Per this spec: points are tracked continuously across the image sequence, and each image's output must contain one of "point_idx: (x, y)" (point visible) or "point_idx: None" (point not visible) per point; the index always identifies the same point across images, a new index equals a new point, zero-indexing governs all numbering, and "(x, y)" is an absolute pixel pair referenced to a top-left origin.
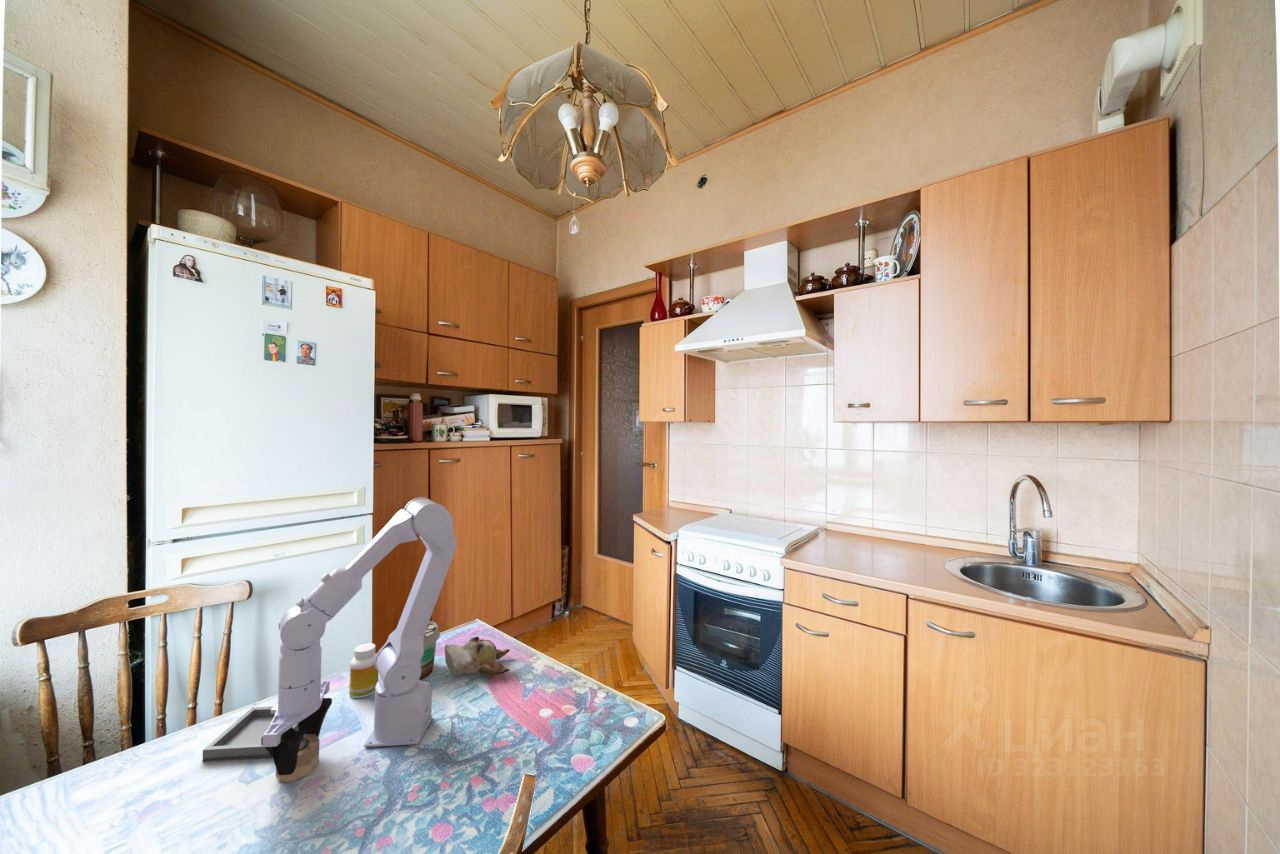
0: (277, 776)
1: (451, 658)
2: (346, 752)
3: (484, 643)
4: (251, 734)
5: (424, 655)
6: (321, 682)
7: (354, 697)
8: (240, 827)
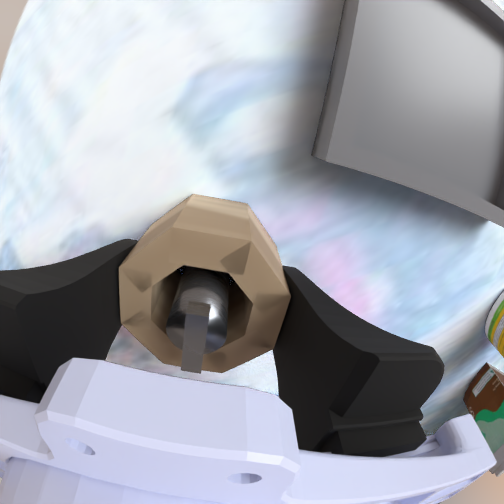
0: (173, 209)
1: None
2: (255, 363)
3: None
4: (454, 44)
5: None
6: (465, 484)
7: (497, 301)
8: (13, 198)
